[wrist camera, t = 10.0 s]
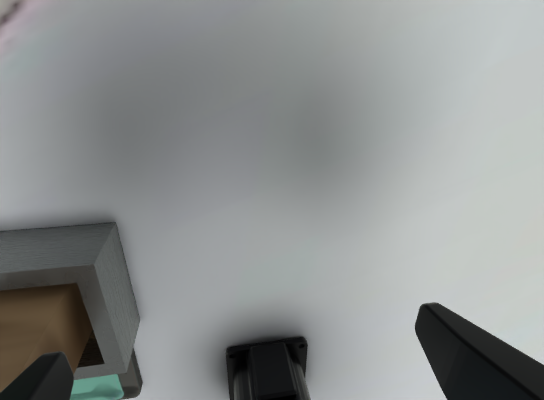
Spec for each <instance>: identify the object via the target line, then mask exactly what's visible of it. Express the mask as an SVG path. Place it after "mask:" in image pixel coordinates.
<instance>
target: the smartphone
mask: <svg viewBox="0 0 544 400" xmlns="http://www.w3.org/2000/svg"><path fill="white" fill-rule="evenodd" d="M141 387H142V379H141V375H140V372H139V368H138V364H137V360H136V356H135V352H134V348H133V350H132V354H131V358H130V362H129V366H128V369H127V373H121V374H114V375H107V376H100V377H93V378H86V379H79V380H74V384H73V388H72V392H71V397H70V400H122V399H129V398H135V397H137V396H138V395H139V394H140V392H141Z"/></svg>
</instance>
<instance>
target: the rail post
mask: <svg viewBox="0 0 544 400" xmlns="http://www.w3.org/2000/svg"><path fill="white" fill-rule="evenodd" d="M92 329H93V328H92V325H91V322H90V319H89V316H88V313H87V310H86V308H85V305H84V302H83V299H82V296H81V293H80V290H79V287H78V284H77V283H69V284H60V285H50V286H40V287H30V288H20V289H11V290H1V291H0V392H1V391H2V390H3V389H4V388H6V387H7V386H8V385H9V384H10V383H11V382H12V381H13V380H14V379H15V378H16V377H17V376H19V375H20V374H21V373H22V372H23V371H24V370H25V369H26V368H27V367H28V366H29V365H31V364H32V363H33V362H34V361H35V360H36V359H37V358H38V357H39V356H41V355H42V354H44V353H50V352H57V351H62V352H64V353H65V355H66V357H67V359H68V361H69V364H70V366H71V369H72V371H73V374H74V373H75V371H76V368H77V366H78V364H79V361H80V359H81V356H82V354H83V351H84V349H85V346H86V344H87V342H88V339H89V337H90V334H91V332H92Z"/></svg>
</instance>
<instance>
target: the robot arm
mask: <svg viewBox="0 0 544 400" xmlns="http://www.w3.org/2000/svg"><path fill="white" fill-rule="evenodd" d="M415 331H416V335H417V337H418V339H419V341H420V343H421V346H422V348H423V350H424V352H425V354H426V357H427V359H428V361H429V363H430V365H431V367H432V370H433V372H434V374H435V376H436V378H437V381H438V383H439V385H440V387H441V389H442V391H443V393H444V394H445V396H446V398H447V400H544V365H543V364H541V363H539V362H538V361H536V360H534V359H533V358H531V357H529V356H528V355H526V354H524V353H522V352H521V351H519V350H517V349H516V348H514V347H512V346H511V345H509V344H507V343H505V342H504V341H502V340H500V339H499V338H497V337H495V336H493V335H492V334H490V333H488V332H487V331H485V330H483V329H482V328H480V327H478V326H476V325H475V324H473V323H471V322H470V321H468V320H466V319H464V318H463V317H461V316H459V315H458V314H456V313H454V312H453V311H451V310H449V309H447V308H446V307H444V306H442V305H441V304H439V303H435V302H434V303H426V304H422V305H421V306H420V309H419V312H418V316H417V319H416V323H415ZM307 346H308V345H307V341H306V339H305V338H295V339H288V340H281V341H274V342H266V343H259V344H252V345H245V346H238V347H231V348H229V349H227V351H226V361H227V372H228V383H229V394H230V400H311V399H310V396H309V392H308V388H307V385H306V381H305V372H306V359H307ZM73 384H74V374H73V371H72V369H71V366H70V364H69V361H68V359H67V357H66V355H65V353H64V352H62V351H57V352H50V353H44V354H42V355H41V356H39V357H38V358H37V359H36V360H35V361H34V362H33V363H32V364H31V365H29V366H28V367H27V368H26V369H25V370H24V371H23V372H22V373H21V374H20V375H19V376H17V377H16V378H15V379H14V380H13V381H12V382H11V383H10V384H9V385H8V386H7V387H6V388H4V389H3V390H2V391H1V392H0V400H70V397H71V392H72V388H73Z"/></svg>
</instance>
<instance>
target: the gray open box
mask: <svg viewBox="0 0 544 400" xmlns="http://www.w3.org/2000/svg"><path fill="white" fill-rule="evenodd" d="M69 283H77V284H78V287H79V290H80V293H81V296H82V299H83V302H84V305H85V308H86V310H87V313H88V316H89V319H90V322H91V325H92V328H93V329H92V332H91V334H90V337H89V339H88V342H87V344H86V346H85V349H84V351H83V354H82V356H81V359H80V361H79V364H78V366H77V368H76V371H75V373H74V380H79V379H86V378H93V377H100V376H107V375H114V374H121V373H127V369H128V366H129V362H130V358H131V354H132V350H133V346H134V342H135V338H136V334H137V330H138V326H139V322H140V319H139V315H138V311H137V307H136V303H135V299H134V295H133V291H132V287H131V283H130V279H129V275H128V271H127V267H126V263H125V258H124V254H123V250H122V246H121V242H120V238H119V234H118V230H117V226H116V223H104V224H91V225H78V226H65V227H52V228H39V229H26V230H13V231H0V291H1V290H11V289H20V288H30V287H40V286H50V285H60V284H69Z"/></svg>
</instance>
